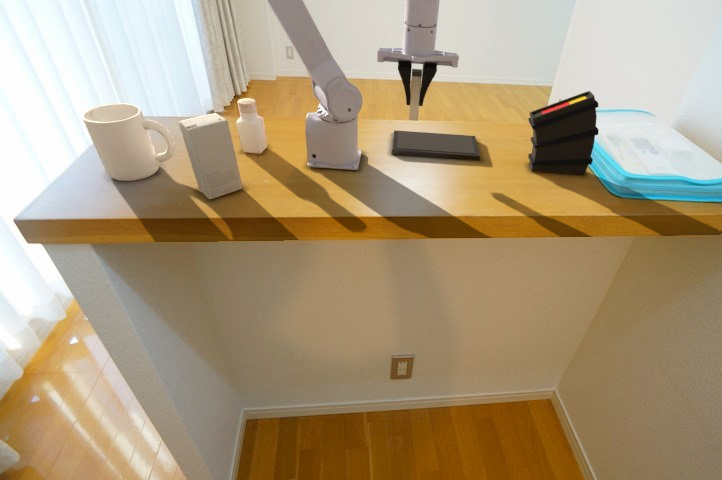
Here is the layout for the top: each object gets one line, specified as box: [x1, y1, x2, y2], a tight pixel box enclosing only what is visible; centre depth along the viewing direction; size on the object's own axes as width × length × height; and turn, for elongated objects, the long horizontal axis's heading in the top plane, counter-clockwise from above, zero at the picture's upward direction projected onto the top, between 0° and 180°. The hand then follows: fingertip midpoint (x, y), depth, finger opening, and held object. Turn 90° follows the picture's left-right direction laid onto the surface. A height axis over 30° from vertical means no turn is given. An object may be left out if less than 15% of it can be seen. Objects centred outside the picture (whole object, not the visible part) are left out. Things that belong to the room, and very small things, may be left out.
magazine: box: [527, 90, 599, 176], centre depth 79 cm, size 4×13×15 cm, turn 87°
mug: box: [81, 103, 176, 182], centre depth 70 cm, size 12×8×10 cm
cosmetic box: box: [177, 112, 244, 200], centre depth 66 cm, size 6×4×12 cm
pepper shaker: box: [236, 97, 268, 155], centre depth 79 cm, size 4×4×10 cm
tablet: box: [391, 129, 481, 161], centre depth 87 cm, size 18×10×1 cm, turn 88°
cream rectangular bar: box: [408, 68, 423, 121], centre depth 79 cm, size 2×2×9 cm
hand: (414, 103), depth 80 cm, fingers closed on cream rectangular bar, 2 cm apart
